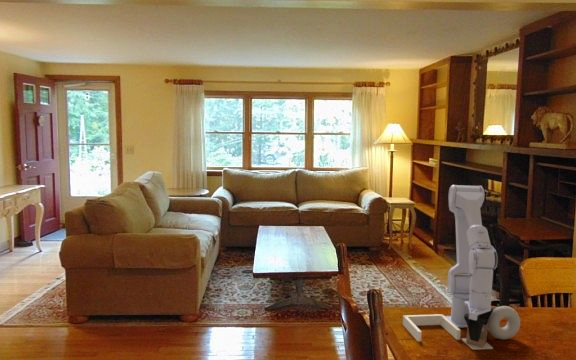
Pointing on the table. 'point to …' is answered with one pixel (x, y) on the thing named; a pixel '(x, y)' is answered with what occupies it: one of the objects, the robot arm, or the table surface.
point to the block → (482, 338)
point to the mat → (477, 346)
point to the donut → (512, 322)
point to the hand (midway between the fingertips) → (477, 336)
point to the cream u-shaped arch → (437, 319)
